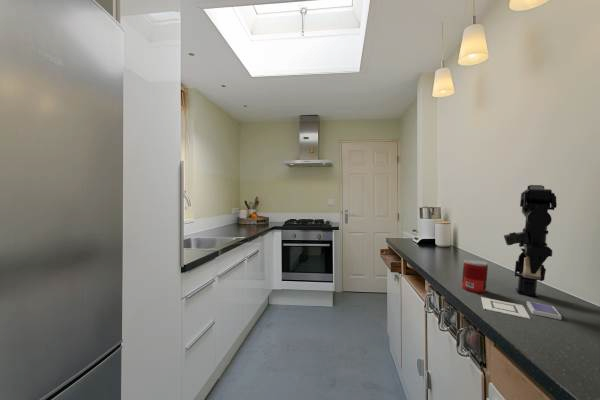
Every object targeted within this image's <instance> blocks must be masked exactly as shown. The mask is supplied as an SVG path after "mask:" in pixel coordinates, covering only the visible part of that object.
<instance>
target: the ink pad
mask: <svg viewBox="0 0 600 400" xmlns="http://www.w3.org/2000/svg"><path fill="white" fill-rule="evenodd" d="M526 306H527V308H528V309H529V311H530V313H531V314H532V315H536V316H541V317H546V318H549V319H550V318H551V319H555V320H559V321H560V320H562V314H561V313H560V312H558V310H557V309H556V308H555V307H554V305H549V304H548V305H547V304H543V303H537V302H533V301H528V300H527V301H526Z"/></svg>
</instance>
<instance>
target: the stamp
mask: <svg viewBox="0 0 600 400" xmlns="http://www.w3.org/2000/svg"><path fill="white" fill-rule="evenodd" d="M540 274H541V267H540V268H539V269H538V271H537V272H536V274H532V273H531V270H530V262H529V257H528V256H527V258H524V268H523V272H522V275H523V276H524V277H526V278H532V279H538V280H537V281H540V280H541V277H540Z"/></svg>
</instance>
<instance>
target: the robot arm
mask: <svg viewBox="0 0 600 400" xmlns="http://www.w3.org/2000/svg"><path fill="white" fill-rule="evenodd" d="M519 207H521V213H522V215H523V216H524V218H525V226H524V227H523V229H522V231H520V232H515V231H514V232H509V233H508V234H504V235H503V237H504V241H505V244H506V245H507V246H512V245H514V244H515V245H517V244H518V246H519V248H520V251H522V252H521V253H520V254H519V255H518V258H517V260H515V266H514V277H518V279H517V287H515V288H514V290H515V292H516V293H517V294H519V295H524V296H525V295H526V296H529V297H537V298H539V297H540V295H539V293H538V292H537V287H538V281H540V282H543V281H545V278H546V272H547V268H545V265H544V263H545V261H546V260H547V258H549V257H553V249H552V248H551V247H549V246H548V243H547V235H548V234H549V230H548V226H549V225H551V223H552V215H551V214H550V213H549V211H554V210H555V209H556V208H557V196H556V195H555V193H554V192H553V191H552V189H551V188H550V189H549V188H548V189H546V188H545V185H542V184H541V185H539V184H530V185H527V189H526V190H524V191H522V192H521V193H520V203H519ZM522 247H523V248H522ZM527 256H528V257H529V262H530V270H531V273H532V274H536V272H537V271H538V269H539V268H540V267H541V274H540V277H541V280H538V279H532V278H526V277H524V276H523V275H522V272H523V268H524V258H527Z"/></svg>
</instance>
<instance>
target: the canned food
mask: <svg viewBox="0 0 600 400" xmlns="http://www.w3.org/2000/svg"><path fill="white" fill-rule="evenodd" d="M488 266H489V263H487V262H485V261H482V260H476V259H464V260H463V267H462V278H461V279H462V282H461V287H462V289H463V290H465V291H467V292H471V293H476V294H484V293H485V292H486V290H487V281H488V268H489V267H488Z"/></svg>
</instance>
